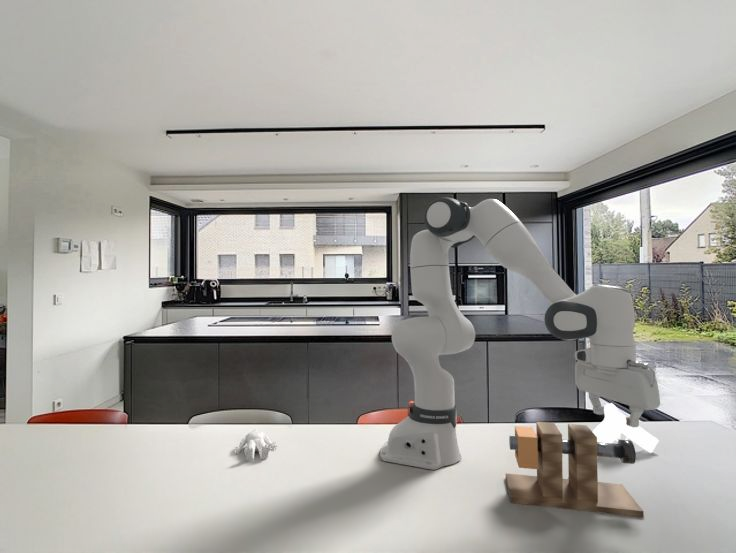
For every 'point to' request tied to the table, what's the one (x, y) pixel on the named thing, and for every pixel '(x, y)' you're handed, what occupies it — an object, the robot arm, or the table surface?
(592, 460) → the threaded rod press
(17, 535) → the table surface
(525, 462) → the block
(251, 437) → the toy creature
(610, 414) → the handgun
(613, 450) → the shaft
